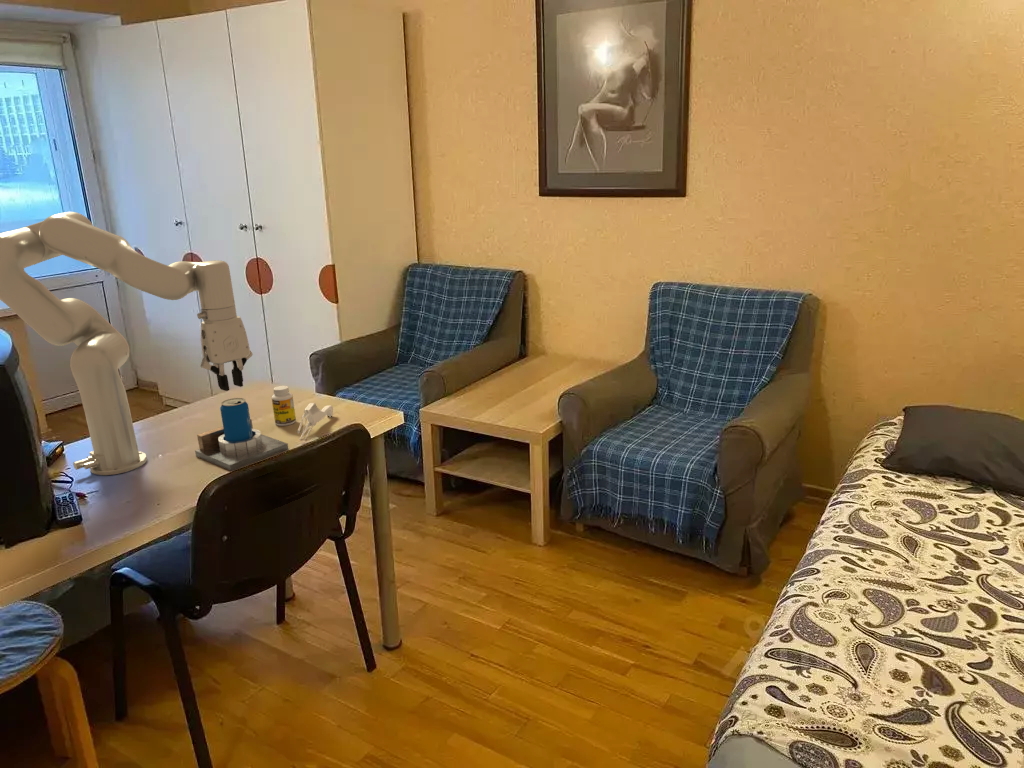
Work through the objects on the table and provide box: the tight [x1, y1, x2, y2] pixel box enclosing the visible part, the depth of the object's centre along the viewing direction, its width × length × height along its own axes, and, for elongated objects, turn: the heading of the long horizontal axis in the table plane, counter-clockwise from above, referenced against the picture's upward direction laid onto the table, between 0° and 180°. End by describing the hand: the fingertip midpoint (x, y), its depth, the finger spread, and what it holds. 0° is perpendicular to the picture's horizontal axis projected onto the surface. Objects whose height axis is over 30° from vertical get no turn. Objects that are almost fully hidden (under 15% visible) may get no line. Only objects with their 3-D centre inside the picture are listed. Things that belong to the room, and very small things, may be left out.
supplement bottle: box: [271, 385, 297, 427], centre depth 211 cm, size 6×6×10 cm
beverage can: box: [219, 397, 253, 442], centre depth 191 cm, size 6×6×12 cm
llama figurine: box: [296, 402, 334, 441], centre depth 207 cm, size 2×11×18 cm
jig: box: [194, 418, 289, 472], centre depth 192 cm, size 16×16×6 cm
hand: (231, 387), depth 188 cm, fingers open, 3 cm apart
